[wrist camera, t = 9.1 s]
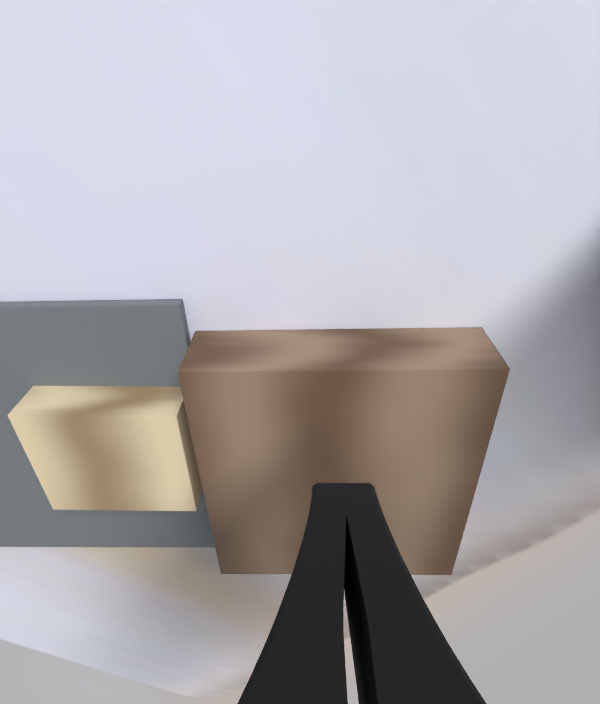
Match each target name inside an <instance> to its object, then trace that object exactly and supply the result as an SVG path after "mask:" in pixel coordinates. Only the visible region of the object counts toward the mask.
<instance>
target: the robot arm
mask: <svg viewBox="0 0 600 704" xmlns="http://www.w3.org/2000/svg"><path fill="white" fill-rule="evenodd" d="M344 591H345V599H346V607H347V614H348V622H349V630H350V637H351V644H352V653H353V660H354V668H355V676H356V683H357V690H358V700H359V704H486V703H485V701H484V699H483V698H482V697H481V695H480V693H479V692H478V690H477V689H476V687H475V686H474V684H473V683H472V681H471V680H470V678H469V676H468V675H467V673H466V672H465V670H464V669H463V667H462V665H461V664H460V662H459V660H458V659H457V657H456V656H455V654H454V652H453V651H452V649H451V647H450V646H449V644H448V642H447V641H446V639H445V637H444V635H443V634H442V632H441V630H440V629H439V627H438V625H437V623H436V621H435V620H434V618H433V616H432V614H431V612H430V611H429V609H428V607H427V605H426V603H425V602H424V600H423V598H422V596H421V594H420V592H419V590H418V588H417V586H416V584H415V583H414V580H413V578H412V576H411V574H410V572H409V570H408V568H407V566H406V564H405V562H404V560H403V558H402V556H401V554H400V552H399V550H398V547H397V545H396V543H395V541H394V539H393V536H392V534H391V531H390V529H389V527H388V524H387V522H386V519H385V517H384V514H383V512H382V509H381V506H380V503H379V500H378V497H377V494H376V491H375V487H374V486H373V485H372V484H371V483H316V484H315V485H313V486H312V497H311V504H310V510H309V515H308V520H307V524H306V528H305V532H304V536H303V540H302V543H301V546H300V550H299V553H298V556H297V559H296V563H295V566H294V569H293V572H292V575H291V578H290V581H289V584H288V587H287V589H286V592H285V595H284V597H283V600H282V603H281V605H280V608H279V611H278V613H277V616H276V619H275V621H274V624H273V626H272V629H271V631H270V633H269V636H268V638H267V641H266V643H265V645H264V648H263V650H262V652H261V654H260V657H259V659H258V661H257V663H256V666H255V668H254V670H253V672H252V675H251V677H250V679H249V681H248V683H247V685H246V687H245V689H244V691H243V693H242V696H241V698H240V700H239V702H238V704H348V702H347V688H346V687H347V686H346V670H345V653H344V636H343V600H344Z"/></svg>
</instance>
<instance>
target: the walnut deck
mask: <svg viewBox="0 0 600 704" xmlns="http://www.w3.org/2000/svg"><path fill="white" fill-rule="evenodd" d="M509 370H510V368H509V367H508V365H507V364H506V362H505V361H504V359H503V358H502V356H501V355H500V353H499V352H498V350H497V349H496V347H495V346H494V345H493V343H492V342H491V340H490V339H489V337H488V336H487V334H486V333H485V331H484V330H483V328H482V327H480V328H402V329H325V330H247V331H195V333H194V336H193V338H192V340H191V342H190V345H189V347H188V349H187V351H186V354H185V356H184V358H183V360H182V363H181V365H180V367H179V369H178V372H177V373H178V378H179V382H180V387H181V391H182V396H183V401H184V405H185V410H186V414H187V419H188V424H189V428H190V433H191V437H192V442H193V446H194V451H195V456H196V460H197V465H198V469H199V474H200V479H201V483H202V488H203V492H204V497H205V501H206V506H207V511H208V515H209V520H210V524H211V529H212V534H213V538H214V543H215V547H216V552H217V556H218V561H219V566H220V570H221V574H292V572H293V569H294V566H295V563H296V559H297V556H298V553H299V550H300V546H301V543H302V540H303V536H304V532H305V528H306V524H307V520H308V515H309V510H310V504H311V497H312V486H313V485H315V484H316V483H371V484H372V485H373V486H374V487H375V491H376V494H377V497H378V500H379V503H380V506H381V509H382V512H383V514H384V517H385V519H386V522H387V524H388V527H389V529H390V531H391V534H392V536H393V539H394V541H395V543H396V545H397V547H398V550H399V552H400V554H401V556H402V558H403V560H404V562H405V564H406V566H407V568H408V570H409V572H410V574H411V575H451V574H452V571H453V567H454V564H455V560H456V557H457V553H458V550H459V546H460V543H461V539H462V536H463V532H464V529H465V525H466V522H467V518H468V514H469V511H470V507H471V504H472V500H473V497H474V493H475V490H476V486H477V483H478V479H479V476H480V472H481V469H482V465H483V462H484V458H485V455H486V451H487V447H488V444H489V440H490V437H491V433H492V430H493V426H494V423H495V419H496V416H497V412H498V409H499V405H500V402H501V398H502V395H503V391H504V388H505V384H506V381H507V377H508V373H509Z"/></svg>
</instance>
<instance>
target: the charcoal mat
mask: <svg viewBox="0 0 600 704" xmlns="http://www.w3.org/2000/svg"><path fill="white" fill-rule="evenodd" d="M189 345H190V337H189V332H188V326H187V321H186V316H185V310H184V305H183V300H182V299H162V300H96V301H30V302H0V547H215V543H214V538H213V534H212V529H211V524H210V520H209V515H208V511H207V506H206V501H205V497H204V492H203V488H202V492H201V496H200V500H199V504H198V508H197V511H133V510H53V508H52V506H51V504H50V502H49V500H48V498H47V496H46V494H45V492H44V490H43V488H42V486H41V483H40V481H39V479H38V477H37V475H36V473H35V471H34V469H33V467H32V465H31V463H30V461H29V459H28V457H27V455H26V453H25V451H24V448H23V446H22V444H21V442H20V440H19V438H18V436H17V434H16V432H15V430H14V428H13V426H12V424H11V422H10V420H9V418H8V414H9V413H10V412H11V411H12V409H13V408H14V407H15V406H16V405H17V404H18V403H19V402H20V400H21V399H22V398H23V397H24V396H25V395H26V394H27V392H28V391H29V390H30V389H31V388H32V387H33V386H154V387H180V382H179V378H178V373H177V372H178V369H179V367H180V365H181V363H182V360H183V358H184V356H185V354H186V351H187V349H188V347H189Z"/></svg>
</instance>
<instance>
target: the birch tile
mask: <svg viewBox="0 0 600 704" xmlns="http://www.w3.org/2000/svg"><path fill="white" fill-rule="evenodd" d="M8 418H9V420H10V422H11V424H12V426H13V428H14V430H15V432H16V434H17V436H18V438H19V440H20V442H21V444H22V446H23V448H24V451H25V453H26V455H27V457H28V459H29V461H30V463H31V465H32V467H33V469H34V471H35V473H36V475H37V477H38V479H39V481H40V483H41V486H42V488H43V490H44V492H45V494H46V496H47V498H48V500H49V502H50V504H51V506H52V508H53V510H133V511H197V508H198V504H199V500H200V496H201V492H202V483H201V479H200V474H199V469H198V465H197V460H196V456H195V451H194V446H193V442H192V437H191V433H190V428H189V424H188V419H187V414H186V410H185V405H184V401H183V396H182V391H181V387H154V386H33V387H32V388H31V389H30V390H29V391H28V392H27V394H26V395H25V396H24V397H23V398H22V399H21V400H20V402H19V403H18V404H17V405H16V406H15V407H14V408H13V409H12V411H11V412H10V413H9V414H8Z"/></svg>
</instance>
